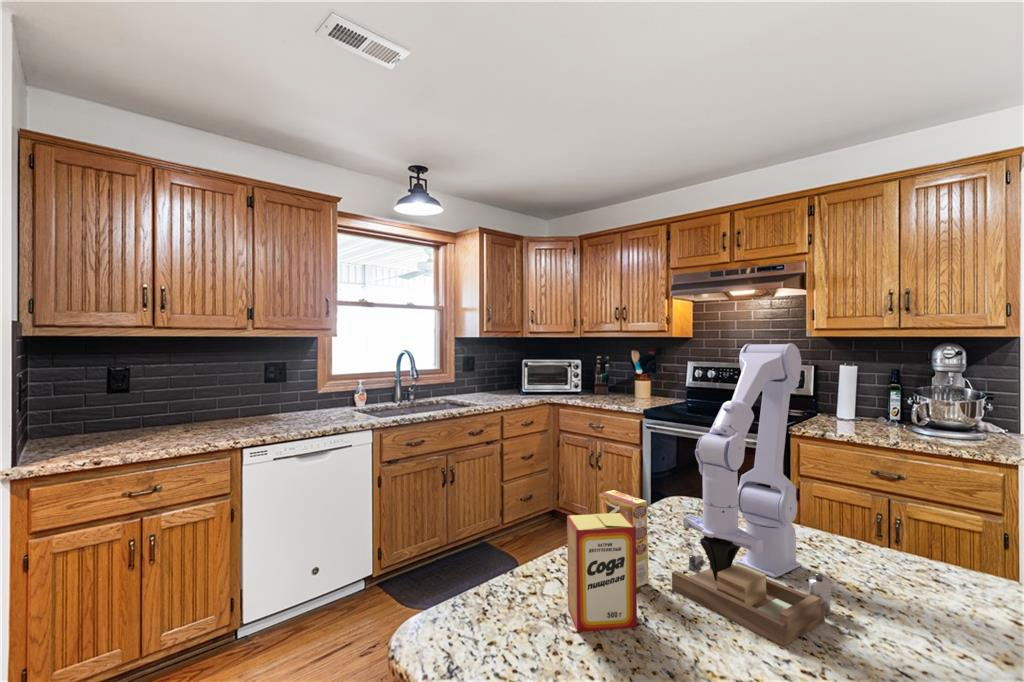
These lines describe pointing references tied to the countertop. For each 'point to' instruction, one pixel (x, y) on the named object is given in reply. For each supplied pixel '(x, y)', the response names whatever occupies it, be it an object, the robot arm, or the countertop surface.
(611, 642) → the countertop surface
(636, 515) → the candy box
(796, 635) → the bay
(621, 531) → the baking soda box
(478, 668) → the countertop surface
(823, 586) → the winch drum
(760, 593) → the tan wooden block
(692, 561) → the crank handle
